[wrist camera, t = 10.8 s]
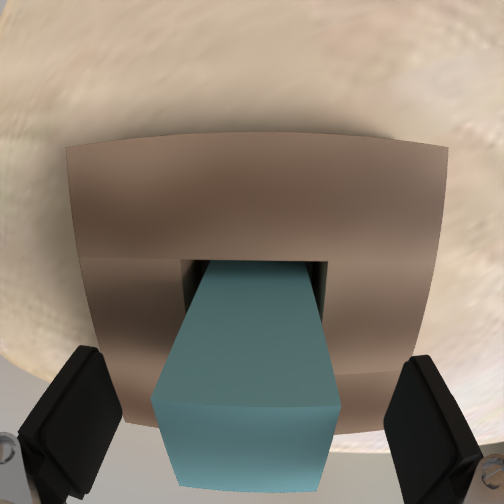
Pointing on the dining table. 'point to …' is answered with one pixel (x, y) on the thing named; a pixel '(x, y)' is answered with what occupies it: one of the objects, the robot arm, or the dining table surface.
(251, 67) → the dining table surface
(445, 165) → the bore block
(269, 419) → the peg
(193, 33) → the dining table surface
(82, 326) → the dining table surface
